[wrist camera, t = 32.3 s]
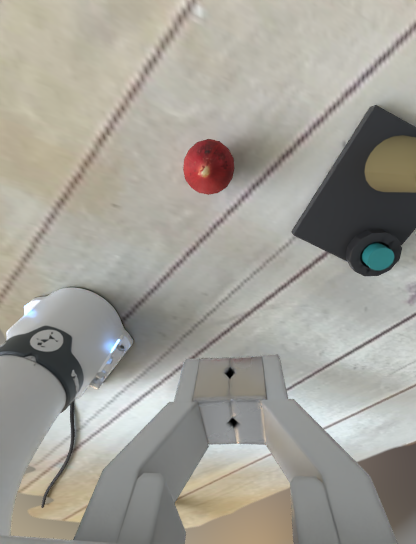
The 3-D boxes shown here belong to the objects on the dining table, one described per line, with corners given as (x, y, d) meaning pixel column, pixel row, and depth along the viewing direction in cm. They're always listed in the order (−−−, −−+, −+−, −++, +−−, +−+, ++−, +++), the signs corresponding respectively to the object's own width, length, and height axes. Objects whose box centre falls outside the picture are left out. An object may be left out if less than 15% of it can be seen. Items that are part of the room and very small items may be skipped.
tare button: (375, 268, 34) (382, 274, 32) (356, 258, 33) (362, 264, 32) (392, 249, 32) (400, 254, 31) (372, 239, 32) (379, 243, 31)
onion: (193, 136, 32) (180, 131, 24) (239, 146, 32) (239, 144, 24) (186, 185, 34) (172, 193, 27) (228, 194, 34) (226, 205, 27)
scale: (368, 273, 37) (379, 283, 34) (289, 234, 36) (293, 241, 33) (464, 159, 30) (487, 160, 27) (370, 106, 29) (383, 102, 26)
